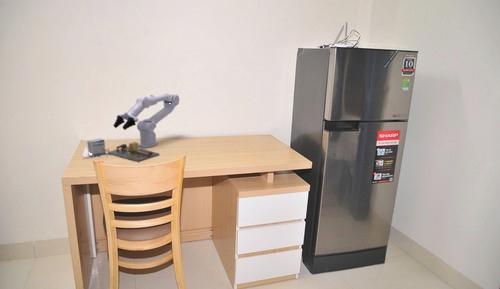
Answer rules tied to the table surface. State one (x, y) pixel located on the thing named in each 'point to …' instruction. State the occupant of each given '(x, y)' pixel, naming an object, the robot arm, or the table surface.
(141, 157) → the dark grey flat plate
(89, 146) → the medicine box
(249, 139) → the table surface
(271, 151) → the table surface
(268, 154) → the table surface
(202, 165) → the table surface
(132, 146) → the sliding head
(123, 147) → the beam
